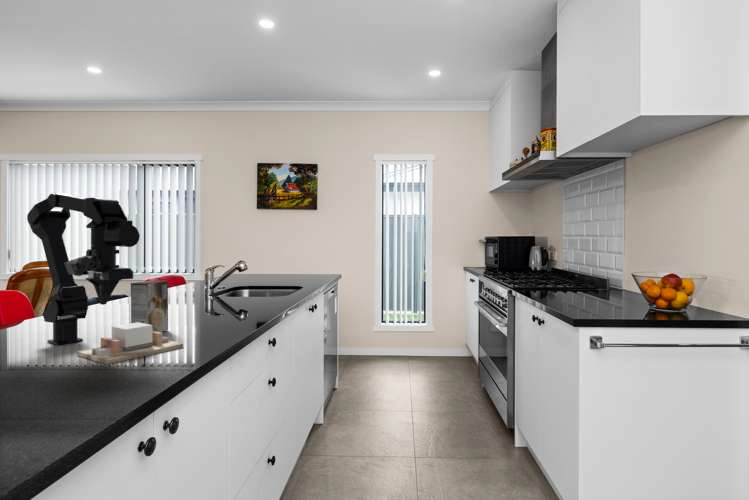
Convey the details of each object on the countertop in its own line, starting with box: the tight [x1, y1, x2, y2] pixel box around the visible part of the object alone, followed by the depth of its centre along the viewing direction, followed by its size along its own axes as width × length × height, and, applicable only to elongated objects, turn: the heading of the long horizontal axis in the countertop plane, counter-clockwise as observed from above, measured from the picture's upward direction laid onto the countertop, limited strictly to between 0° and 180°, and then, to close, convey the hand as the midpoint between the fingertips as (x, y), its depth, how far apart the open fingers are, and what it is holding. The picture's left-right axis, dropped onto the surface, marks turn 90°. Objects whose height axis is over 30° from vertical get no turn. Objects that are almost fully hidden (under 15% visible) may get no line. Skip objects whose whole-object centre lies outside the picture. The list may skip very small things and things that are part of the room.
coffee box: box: [130, 280, 169, 333], centre depth 137 cm, size 9×6×16 cm
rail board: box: [76, 331, 184, 365], centre depth 115 cm, size 14×20×4 cm
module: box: [111, 322, 152, 351], centre depth 115 cm, size 7×7×6 cm
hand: (103, 304), depth 117 cm, fingers closed
